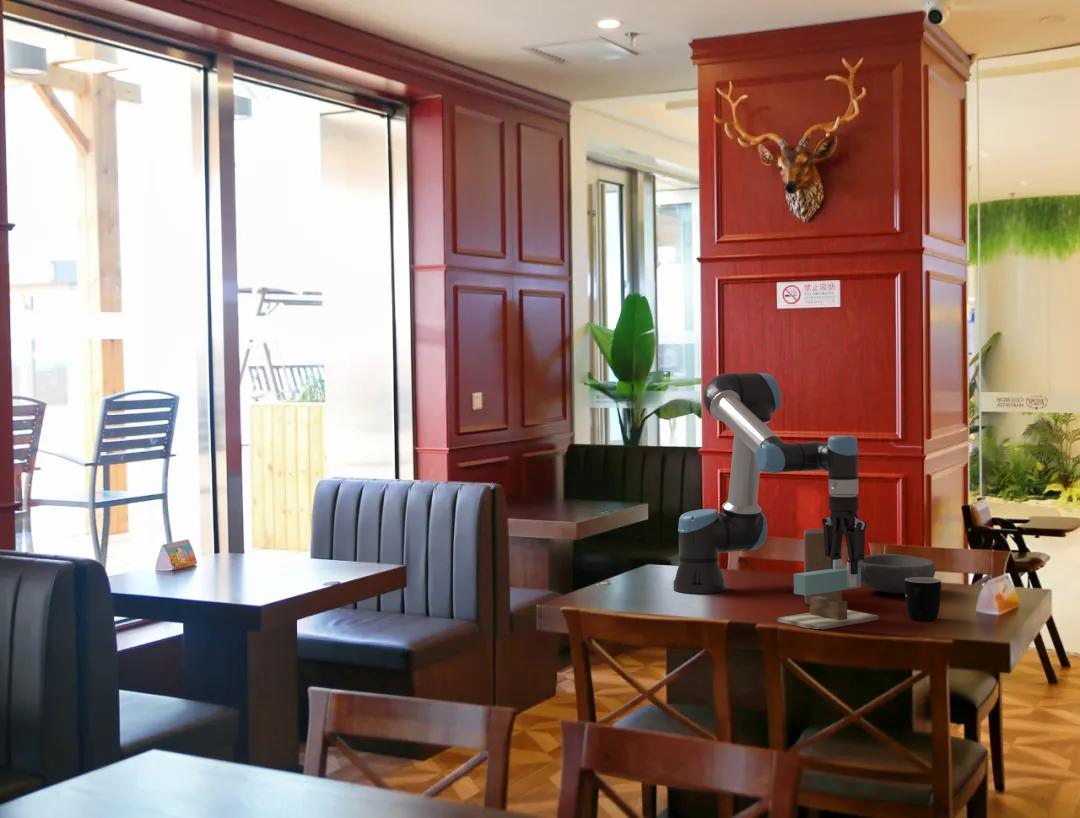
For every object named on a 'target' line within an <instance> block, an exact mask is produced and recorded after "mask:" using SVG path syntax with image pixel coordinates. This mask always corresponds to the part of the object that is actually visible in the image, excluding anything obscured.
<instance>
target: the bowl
mask: <svg viewBox="0 0 1080 818" xmlns="http://www.w3.org/2000/svg"><path fill="white" fill-rule="evenodd" d="M936 567H937V566H936V563H935V562H934V560H932V559H929V558H925V557H918V556H913V555H905V554H894V553H893V554H892V553H880V554H879V553H878V554H869V555H864V559H863V560H859V561H858V568H861V585H864V587H867V588H868V589H871V590H874V591H877V592H881V593H885V594H886V593H887V594H896V595H897V594H899V595H905V579H906V578H911V577H928V578H935V573H936V569H937V568H936Z"/></svg>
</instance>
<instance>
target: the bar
mask: <svg viewBox="0 0 1080 818" xmlns="http://www.w3.org/2000/svg"><path fill="white" fill-rule="evenodd" d="M858 588H862V583H861V568H858V574H856V587H847V566H842V567H841V568H834V569H826V570H819V571H812V572H804V571H803V572H799V573H793V594H794V595H800V596H804V597H805V596H807V595H813V594H820V593H827V592H833V591H840V590H842V591H846V590H847V591H848V590H853V589H858Z"/></svg>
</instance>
